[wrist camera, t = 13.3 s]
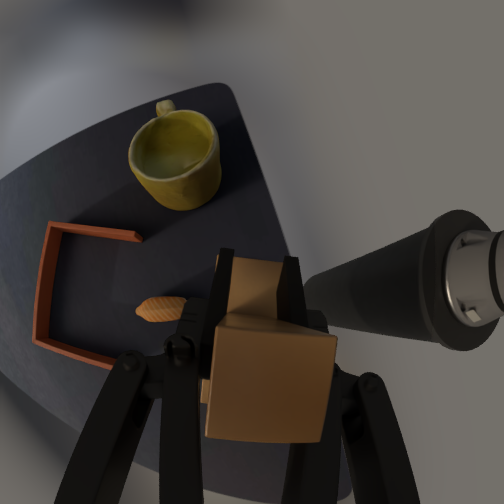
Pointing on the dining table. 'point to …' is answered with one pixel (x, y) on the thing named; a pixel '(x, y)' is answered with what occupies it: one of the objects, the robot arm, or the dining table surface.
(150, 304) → the sushi
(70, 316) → the dining table surface
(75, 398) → the dining table surface
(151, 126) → the mug
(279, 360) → the brown boxy piece
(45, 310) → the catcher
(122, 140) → the dining table surface
